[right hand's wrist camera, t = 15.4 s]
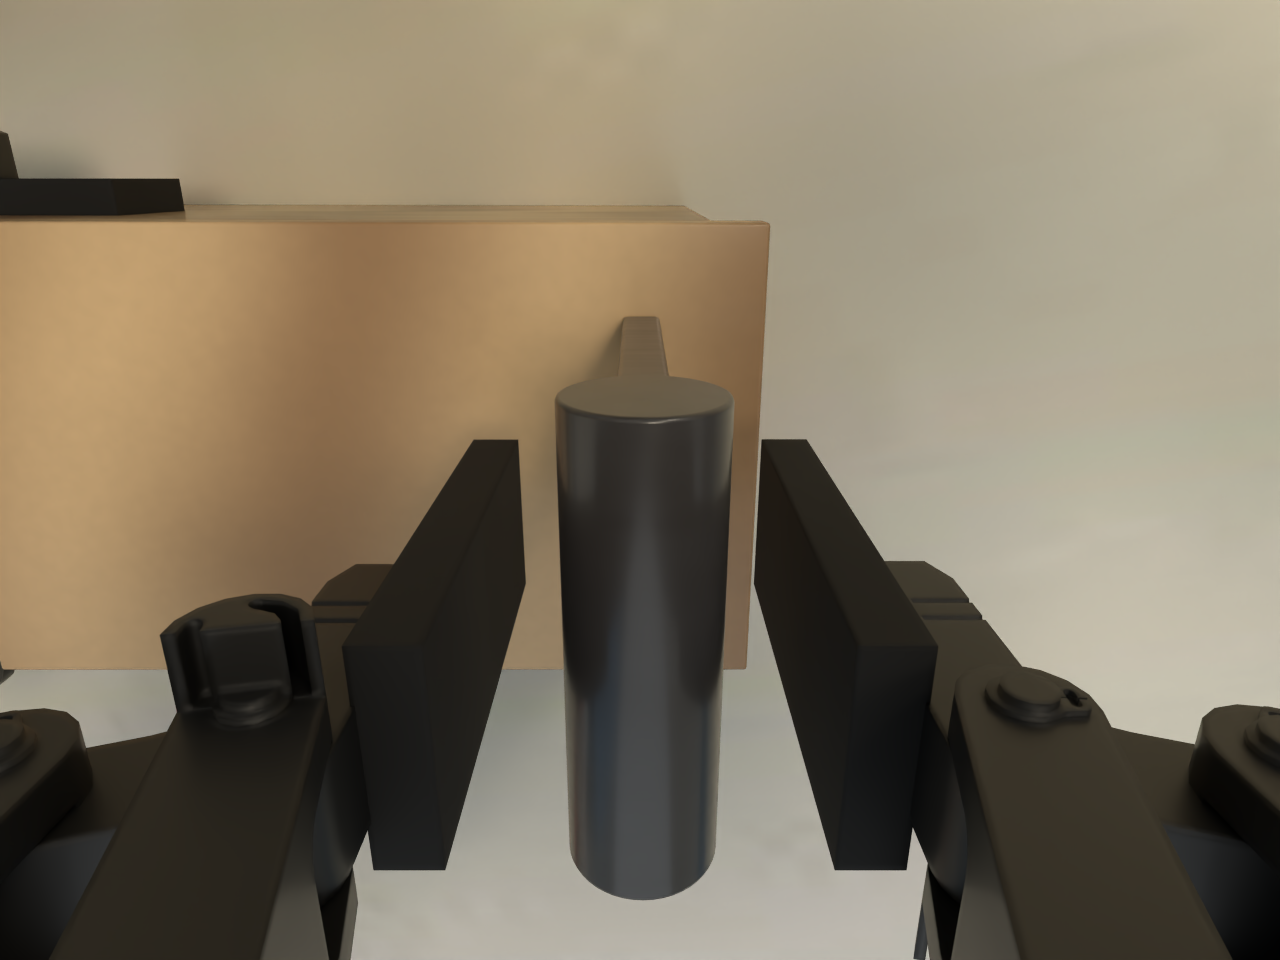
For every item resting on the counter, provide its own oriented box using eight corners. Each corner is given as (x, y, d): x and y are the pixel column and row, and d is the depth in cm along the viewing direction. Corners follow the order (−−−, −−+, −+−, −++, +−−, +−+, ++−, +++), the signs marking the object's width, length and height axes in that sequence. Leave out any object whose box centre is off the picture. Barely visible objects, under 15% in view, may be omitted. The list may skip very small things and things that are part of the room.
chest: (686, 205, 25) (713, 220, 16) (680, 499, 28) (700, 649, 19) (168, 204, 25) (-96, 218, 16) (223, 499, 28) (29, 648, 19)
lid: (763, 220, 16) (893, 263, 8) (742, 649, 19) (817, 989, 11) (-99, 219, 16) (-856, 259, 8) (27, 650, 19) (-414, 991, 11)
